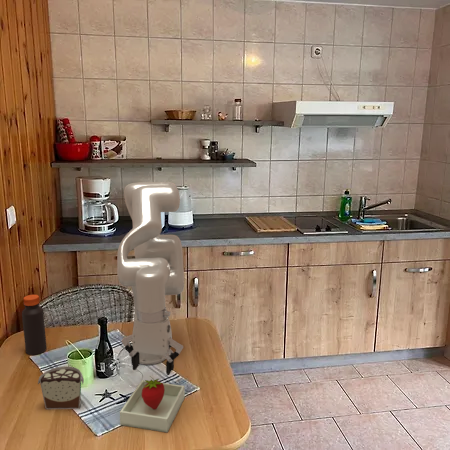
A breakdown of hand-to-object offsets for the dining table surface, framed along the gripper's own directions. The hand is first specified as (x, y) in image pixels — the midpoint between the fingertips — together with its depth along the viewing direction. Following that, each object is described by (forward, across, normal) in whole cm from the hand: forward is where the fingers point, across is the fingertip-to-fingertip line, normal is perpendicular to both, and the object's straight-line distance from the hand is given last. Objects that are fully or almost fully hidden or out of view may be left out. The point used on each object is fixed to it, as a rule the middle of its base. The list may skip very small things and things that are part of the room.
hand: (152, 369), depth 123 cm
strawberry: (+12, -1, +1) cm, 12 cm away
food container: (+13, +25, +3) cm, 29 cm away
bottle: (+14, +51, -20) cm, 57 cm away
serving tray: (+12, -1, +1) cm, 12 cm away
